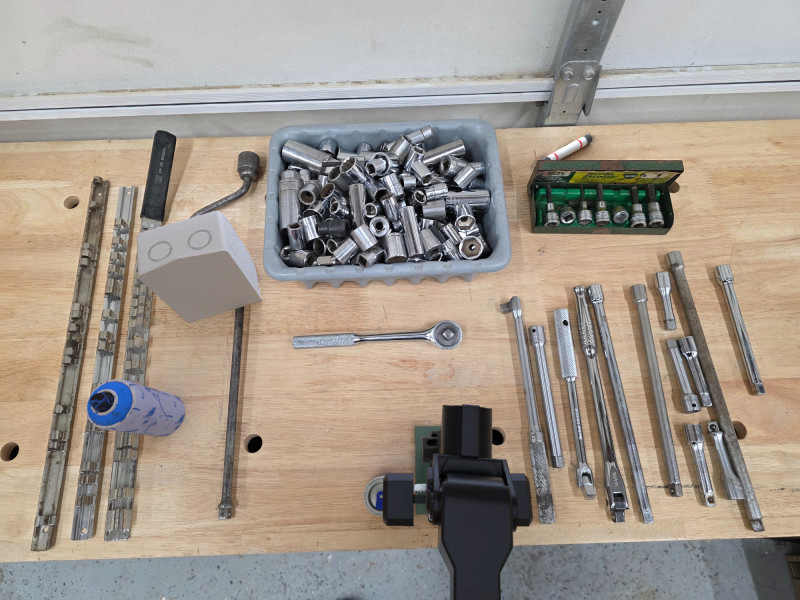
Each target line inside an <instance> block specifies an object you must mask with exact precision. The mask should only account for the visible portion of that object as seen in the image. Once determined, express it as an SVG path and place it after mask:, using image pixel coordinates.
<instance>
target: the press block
mask: <svg viewBox="0 0 800 600" xmlns="http://www.w3.org/2000/svg"><path fill="white" fill-rule="evenodd" d="M440 429H441V425H415V426H414V454H415V455H414V458H415V462H414V464H415V484H426V481H427V466H429V467H430V464H429V463H428V462H423V457H422V438H423V437H428V436H429V433H431V432H432V431H439V430H440ZM415 495H426V490H425V493H424V492H423V490H422V492H421V493H420V490H419V492H418V493H417V490H416V492H415ZM415 515H427V512H426V504H415Z"/></svg>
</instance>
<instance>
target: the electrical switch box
mask: <svg viewBox="0 0 800 600" xmlns="http://www.w3.org/2000/svg"><path fill="white" fill-rule="evenodd" d="M136 254H137V255H136V256H137V278H138V280H139V281H140V282H141V283H142V284H144V285H145V286H146V287H147V288H148V289H149V290H150V291H151V292H153V294H155V295H156V297H158V298H159V299H160V300H161V301H163V302H164V303H165V304H166V305H167V306H168V307H169V308H170V309H171V310H173V312H175V313H176V314H177V315H178V316H180V318H182V319H183V320H184V321H185V322H186V323H188V324H192V323H195V322H198V321H201V320H204V319H209V318H211V317H214V316H217V315H220V314H224V313H227V312H230V311H231V312H232V311H233V310H237V309H239V308H240V309H241V308H243V307H246V306H249V305H253V304H256V303H259V302H262V301H263V297H262V294H261V288H260V285H259V279H258V273H257V269H256V264H255V262H254V260H253V258H252V255H251V254H250V252H249V250H248V249H247V247H246V246H245V244H244V242H243V241H242V239H241V238H240V236H239V235H238V233H237V231H236V230H235V228H234V226H233V225H232V223H231V222H230V220H229V219H228V218H227V216H225V214H224V213H222V211H220V210H214V211H213V210H212V211H210V212H207V213H203V214H200V215H199V214H198V215H196V216H192V217H188V218H186V219H182V220H179V221H176V222H172V223H169V224H165V225H162V226H157V227H155V228H151V229H148V230H144V231H141V232H139V233H137V235H136Z"/></svg>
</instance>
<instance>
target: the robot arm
mask: <svg viewBox="0 0 800 600" xmlns="http://www.w3.org/2000/svg"><path fill="white" fill-rule="evenodd" d="M440 426H441V429H440V430H439V431H432V432H431V433H429V436H428V437H423V438H422V457H423V462H428V463H429V464H430V467H429V466H427V481H426V484H416V483H414V473H413V472H387V473H386V474H385V475H384V476H385V477H384V478H383V516H382V522H383V523H384V525H386V527H415V511H414V510H415V507H414V506H415V505H416V504H426V512H427V514H426V515H427V521H428V523H430V524H431V526H437V549H438V552H439V554H440V556H441V558H442V560H443V562H444V564H445V567H446V569H447V570H448V573H449V600H502V585H501V583H502V582H501V579H502V578H501V574H502V571H503V570H504V567H505V565H506V564H507V561H508V559H509V557H510V555H511V553H512V551H513V549H514V533H516V532H517V529H518V528H520V527H521V528H523V527H524V528H525V527H527V528H528V527H530V526H531V525H532V523H533V521H534V511H533V501H532V491H531V482H530V479H529V477H528V476H527V475H526V474H525V473H524V472H510V467H509V463H508V460H507V459H505V458H493V408H491V407H483V406H480V404H468V403H462V404H453V405H452V404H442V405H441V425H440ZM416 490H417V493H418V492H419V490H420V493H421V492H422V490H423V492H424V493H425V490H426V495H416ZM414 493H415V494H414Z"/></svg>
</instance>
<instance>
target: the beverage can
mask: <svg viewBox="0 0 800 600" xmlns="http://www.w3.org/2000/svg"><path fill="white" fill-rule="evenodd" d="M384 477H385V475H381V476H377V477H375V478H373V479H372V480H371V481H369V482H368V483H367V485H366V486H365V488H364V491H363V498H362V499H363V504H364V506H365V508H366V509H367V511H368V512H369V513H370V514H372V515H374V516H377V517H383V478H384Z"/></svg>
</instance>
